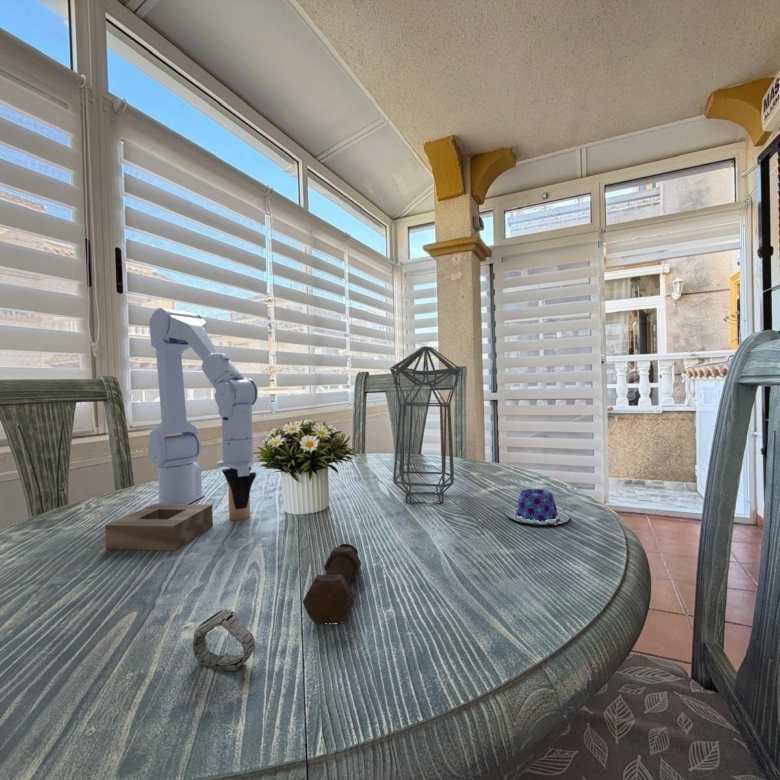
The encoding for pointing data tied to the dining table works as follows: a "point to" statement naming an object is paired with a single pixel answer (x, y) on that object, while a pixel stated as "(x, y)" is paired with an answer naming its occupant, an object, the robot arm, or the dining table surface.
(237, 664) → the wristwatch
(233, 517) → the peg
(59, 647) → the dining table surface
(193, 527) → the socket block
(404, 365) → the geometric lantern
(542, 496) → the pudding
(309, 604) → the bolt
